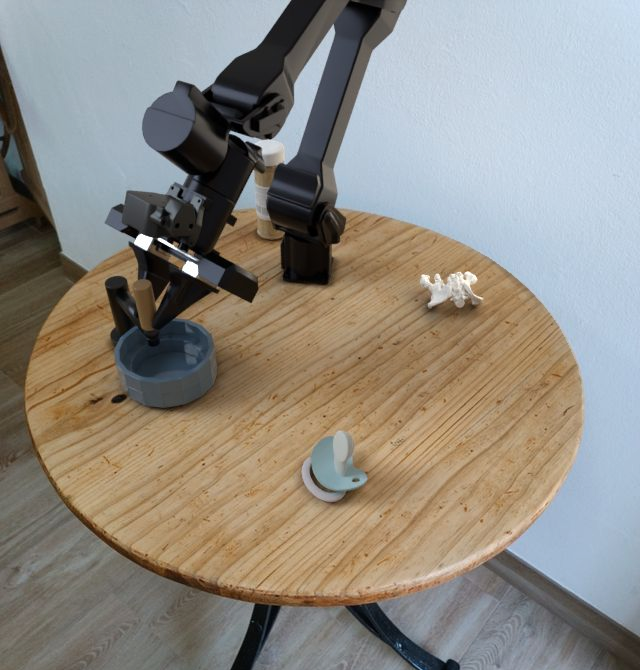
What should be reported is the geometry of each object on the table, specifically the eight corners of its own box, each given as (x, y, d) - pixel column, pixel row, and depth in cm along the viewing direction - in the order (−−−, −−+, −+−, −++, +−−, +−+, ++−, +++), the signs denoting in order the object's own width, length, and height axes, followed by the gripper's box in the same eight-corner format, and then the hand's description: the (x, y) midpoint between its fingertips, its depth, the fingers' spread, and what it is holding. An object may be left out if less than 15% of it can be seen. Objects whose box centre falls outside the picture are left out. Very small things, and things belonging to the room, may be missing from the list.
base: (152, 331, 88) (150, 323, 87) (141, 353, 85) (139, 346, 84) (118, 327, 88) (117, 320, 87) (107, 349, 85) (104, 342, 84)
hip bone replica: (475, 260, 93) (492, 285, 88) (470, 287, 96) (486, 313, 91) (418, 264, 92) (432, 289, 87) (415, 291, 95) (428, 318, 90)
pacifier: (319, 514, 69) (372, 495, 70) (317, 475, 64) (375, 455, 66) (291, 462, 73) (343, 445, 75) (288, 423, 69) (343, 405, 70)
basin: (226, 351, 85) (223, 322, 82) (204, 415, 78) (199, 386, 75) (139, 342, 86) (132, 313, 83) (108, 404, 79) (99, 375, 75)
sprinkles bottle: (292, 235, 104) (290, 148, 94) (266, 244, 102) (261, 156, 92) (276, 221, 107) (273, 135, 97) (251, 230, 105) (245, 143, 95)
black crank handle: (114, 331, 86) (91, 243, 77) (133, 323, 87) (113, 236, 78) (153, 382, 80) (134, 293, 71) (174, 373, 81) (157, 284, 72)
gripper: (100, 128, 70) (36, 267, 72) (231, 189, 62) (154, 344, 64) (170, 176, 80) (111, 297, 82) (290, 233, 71) (222, 366, 73)
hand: (146, 323), depth 75 cm, fingers closed
